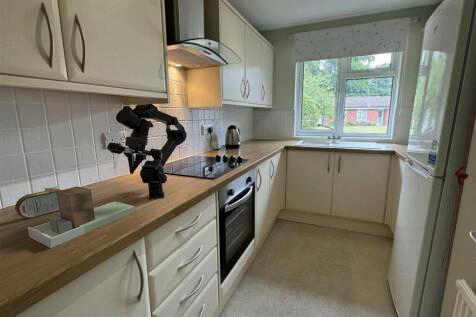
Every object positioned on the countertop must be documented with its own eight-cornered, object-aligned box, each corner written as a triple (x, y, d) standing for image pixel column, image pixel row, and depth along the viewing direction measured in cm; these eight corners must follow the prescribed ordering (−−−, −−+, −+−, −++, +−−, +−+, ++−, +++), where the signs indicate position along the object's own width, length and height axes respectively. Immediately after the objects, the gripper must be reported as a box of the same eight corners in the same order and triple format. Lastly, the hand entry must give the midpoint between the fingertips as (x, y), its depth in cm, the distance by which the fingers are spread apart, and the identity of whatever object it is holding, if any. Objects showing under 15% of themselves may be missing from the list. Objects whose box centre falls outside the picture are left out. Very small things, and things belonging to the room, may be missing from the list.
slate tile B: (56, 215, 73) (49, 218, 72) (63, 218, 71) (55, 221, 70) (59, 227, 74) (51, 230, 72) (65, 230, 72) (58, 233, 70)
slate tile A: (64, 218, 71) (56, 221, 69) (71, 221, 69) (63, 224, 67) (66, 231, 72) (59, 234, 70) (73, 234, 70) (66, 237, 68)
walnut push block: (81, 214, 79) (77, 186, 77) (95, 219, 75) (90, 189, 74) (61, 222, 74) (56, 191, 72) (74, 227, 70) (69, 195, 68)
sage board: (115, 206, 92) (114, 201, 91) (135, 211, 86) (134, 206, 86) (63, 225, 76) (62, 219, 76) (83, 233, 71) (82, 227, 70)
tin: (68, 206, 93) (65, 186, 91) (71, 208, 91) (67, 187, 89) (17, 220, 82) (12, 197, 80) (19, 222, 80) (14, 198, 78)
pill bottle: (47, 206, 93) (43, 186, 92) (61, 203, 96) (58, 183, 95) (47, 210, 90) (43, 189, 88) (62, 207, 93) (59, 186, 91)
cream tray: (62, 224, 77) (60, 216, 76) (84, 233, 70) (83, 224, 70) (29, 236, 69) (27, 227, 69) (50, 248, 63) (48, 237, 62)
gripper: (107, 121, 82) (95, 165, 78) (162, 130, 85) (154, 173, 81) (116, 132, 92) (106, 171, 88) (165, 140, 95) (158, 178, 91)
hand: (131, 173), depth 87 cm, fingers closed
